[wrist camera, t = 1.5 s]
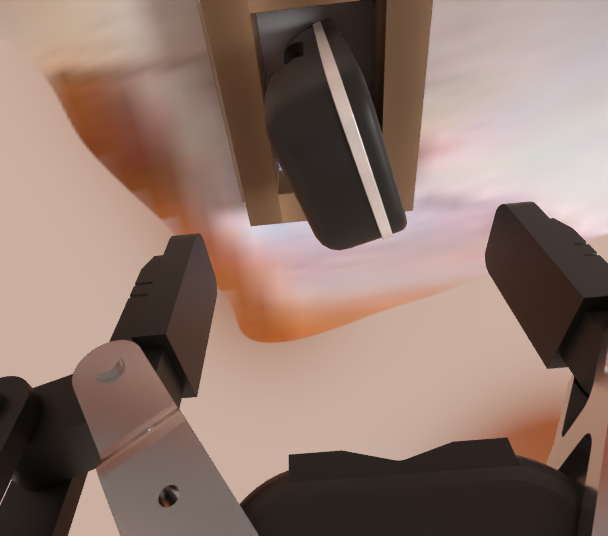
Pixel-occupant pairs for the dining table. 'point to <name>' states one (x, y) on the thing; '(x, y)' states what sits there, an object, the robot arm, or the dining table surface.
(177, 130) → the dining table surface
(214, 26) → the frame
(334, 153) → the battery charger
